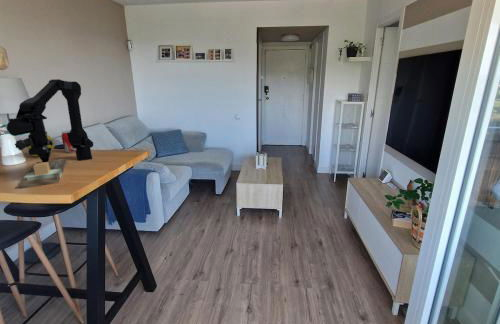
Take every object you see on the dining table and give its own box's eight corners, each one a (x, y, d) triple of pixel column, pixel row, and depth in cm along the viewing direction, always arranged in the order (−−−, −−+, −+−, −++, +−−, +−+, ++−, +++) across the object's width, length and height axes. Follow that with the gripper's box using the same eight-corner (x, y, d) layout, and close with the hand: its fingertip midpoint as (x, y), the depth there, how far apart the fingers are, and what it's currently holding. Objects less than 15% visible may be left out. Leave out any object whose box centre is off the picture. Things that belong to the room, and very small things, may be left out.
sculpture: (25, 151, 157) (30, 128, 156) (51, 156, 164) (57, 134, 164) (21, 156, 145) (27, 132, 144) (50, 161, 152) (56, 138, 151)
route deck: (66, 163, 139) (64, 154, 138) (58, 182, 112) (55, 172, 111) (38, 166, 134) (35, 158, 133) (21, 188, 107) (18, 177, 105)
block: (50, 170, 120) (48, 161, 118) (48, 173, 116) (46, 164, 115) (37, 172, 118) (35, 163, 116) (35, 175, 114) (33, 166, 113)
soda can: (68, 153, 157) (64, 133, 154) (62, 152, 161) (58, 132, 158) (81, 151, 163) (77, 131, 160) (75, 149, 167) (71, 130, 163)
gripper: (19, 129, 123) (28, 162, 128) (7, 137, 107) (18, 174, 112) (49, 127, 128) (57, 159, 133) (42, 133, 112) (51, 169, 117)
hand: (46, 165), depth 123 cm, fingers closed
